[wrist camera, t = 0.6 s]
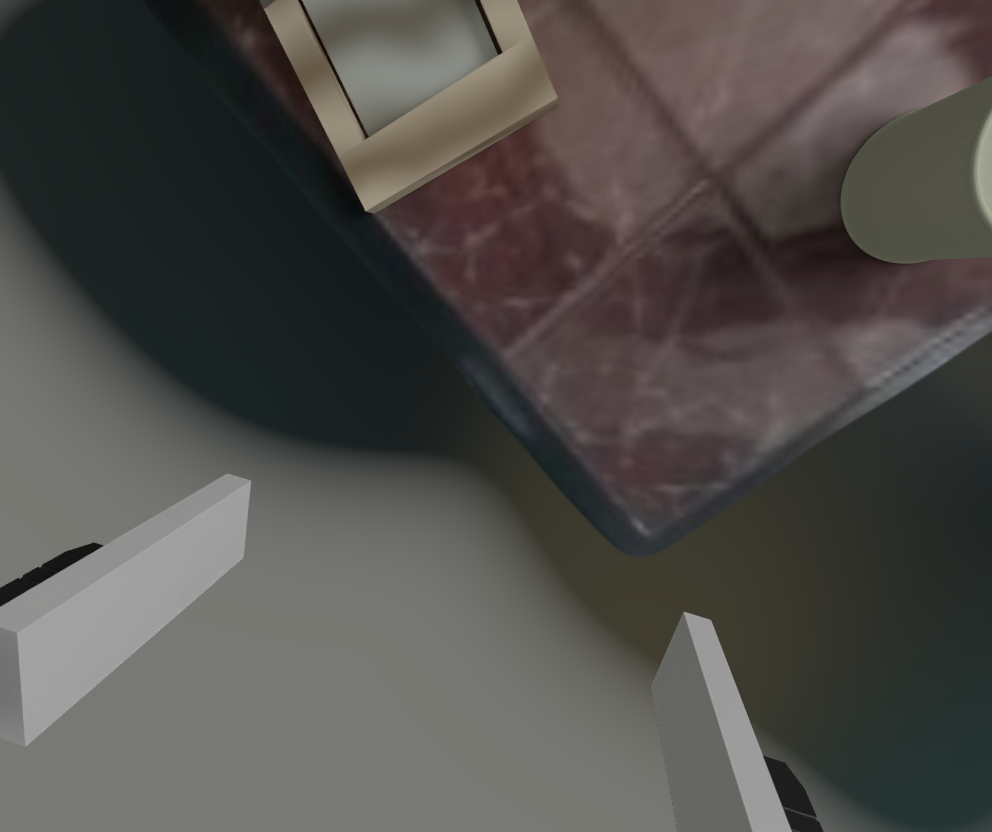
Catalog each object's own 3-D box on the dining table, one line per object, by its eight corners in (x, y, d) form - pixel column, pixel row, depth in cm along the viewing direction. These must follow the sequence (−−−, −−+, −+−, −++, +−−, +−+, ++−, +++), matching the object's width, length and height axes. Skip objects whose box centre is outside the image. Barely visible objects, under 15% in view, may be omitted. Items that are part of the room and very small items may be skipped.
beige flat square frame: (263, -8, 35) (249, -21, 33) (451, -152, 31) (445, -174, 30) (374, 213, 38) (365, 211, 36) (558, 105, 34) (557, 97, 32)
